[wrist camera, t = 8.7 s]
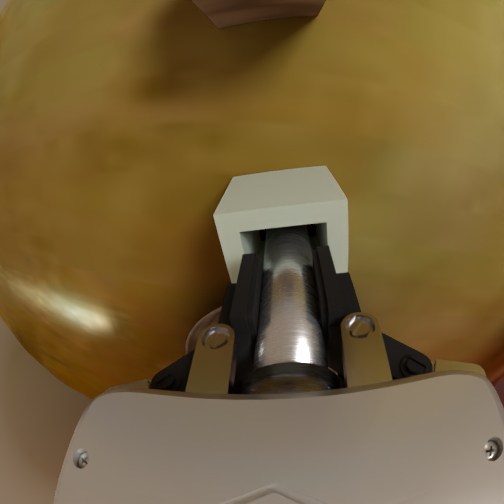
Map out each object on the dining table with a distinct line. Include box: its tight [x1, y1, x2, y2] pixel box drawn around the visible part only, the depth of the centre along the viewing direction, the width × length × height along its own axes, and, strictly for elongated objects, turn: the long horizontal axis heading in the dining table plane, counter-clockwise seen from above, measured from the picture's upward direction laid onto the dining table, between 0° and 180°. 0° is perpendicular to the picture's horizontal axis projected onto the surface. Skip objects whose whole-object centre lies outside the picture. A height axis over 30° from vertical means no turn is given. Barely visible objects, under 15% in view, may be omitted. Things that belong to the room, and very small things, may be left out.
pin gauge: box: [240, 224, 341, 394], centre depth 11 cm, size 3×3×12 cm
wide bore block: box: [213, 166, 348, 283], centre depth 16 cm, size 6×6×6 cm
